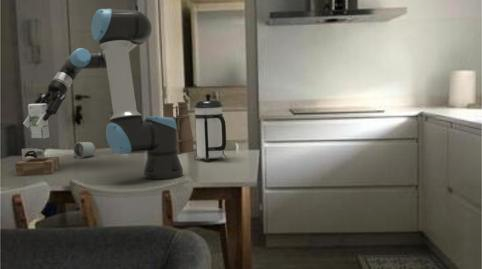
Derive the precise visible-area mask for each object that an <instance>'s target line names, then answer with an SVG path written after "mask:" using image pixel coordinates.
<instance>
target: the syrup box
mask: <svg viewBox="0 0 482 269" xmlns="http://www.w3.org/2000/svg"><path fill="white" fill-rule="evenodd" d="M47 107H48V105H47V104H46V103H41V104H33V103H29V104H28V105H27V110H28V111H27V112H28V115H29V123H30V126H29V132H30V133H29V134H30V139H31V140H33V139H35V140H36V139H37V140H39V139H41V140H42V139H47V138H50V130H49V129H50V128H49V119H48V120H47V121H46V122H45V123H44V125H43V126H42V128H39V127H38V126H37V125H36V123H37V122H38V120H39V119H40V117H41V116H42V114H43V113H44V112H46V111H45V110H47ZM46 113H47V112H46Z"/></svg>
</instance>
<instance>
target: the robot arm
mask: <svg viewBox="0 0 482 269" xmlns="http://www.w3.org/2000/svg"><path fill="white" fill-rule="evenodd" d="M90 27H91V28H90V31H91V32H90V33H91V36H92V38H93V39H92V40H94V41H96V42H98V45H99V48H100V49H101V50H102V51H89V50H87V49H86V48H84V47H79V48H77V49H75V50H74V51H73V52H72V53H71V54H70V55H69V56H68V57H67V59H66V60H65V62H64V63H63V65H61V68H60V69H59V70H58V71H57V73H56V75H55V76H53V78H52V80H51V82H50V83H49V84H48V86H47V91H46V92H45V94H43V93H42V92H41V93H39V95H38V97H37V99H36V100H35V101H34V102H33V103H32V104H41V103H46V104H47V110H45V111H46V112H47V113H46V112H44V113H43V114H42V116H41V117H40V119H39V120H38V122H37V123H36V125H37V126H38V127H39V128H42V126H43V125H44V123H45V122H46V121H47V120H48V121H49V118H50V117H52V115H56V114H57V113H58V110H59V108H60V107H61V105H62V103H63V101H65V99H66V93H67V91H68V90H69V88H70V87H71V85H72V84H73V82H74V81H75V79H76V78H78V75H79V74H80V73H81V72H82V71H83V70H94V69H95V70H96V69H97V70H98V69H99V70H100V69H101V70H103V69H105V70H106V71H107V78H108V79H107V80H108V83H109V84H108V85H109V91H110V99H111V108H112V112H113V114H112V116H111V117H110V119H109V120H110V121H109V123H108V124H107V125H106V128H105V130H106V131H105V137H106V141H107V144H108V146H109V147H110V149H111V150H112V152H114V153H115V154H117V155H128V154H133V153H141V152H146V154H147V156H146V161H145V165H144V168H143V178H146V179H147V180H167V179H168V180H169V179H174V178H179V177H182V176H183V175H184V171H183V166H182V164H181V160H180V158H179V154H177V127H176V121H175V119H173V118H167V117H164V116H150V115H149V116H147V115H146V116H145V117H144V120H143V117H142V114H141V113H140V112H138V110H137V109H138V108H137V104H136V103H137V102H136V97H135V90H134V89H135V87H134V82H133V81H134V80H133V74H132V69H131V68H132V67H131V62H130V54H129V52H131V51H132V50H134V49H135V48H136V47H137V46H140V45H143V44H144V43H145V42H146V41H148V40H149V38H150V37H151V35H152V31H153V30H152V29H153V28H152V23H151V20H150V19H149V17H148V16H147V15H146V14H145V13H143V12H142V11H140V10H135V9H119V8H116V9H115V8H111V7H110V8H109V7H108V8H99V9H97V10H96V12H95V13H94V15H93V18H92V21H91V26H90ZM22 124H23V125H24V126H25V127H26V128H30V123H29V114H28V115H27V117H26V119H25V120H24V121H23V123H22Z"/></svg>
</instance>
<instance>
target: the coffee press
mask: <svg viewBox="0 0 482 269" xmlns="http://www.w3.org/2000/svg"><path fill="white" fill-rule="evenodd" d="M223 106H224V105H223V104H222V102H221V101H220V100H219V99H213V98H211V94H210V93H206V94H205V99H200V100H197V101H195V104H194V106H193V107H194V109H195V110H194V112H195V114H194V118H195V119H194V121H195V122H194V124H195V126H194V127H195V151H196V153H195V154H196V155H195V156H194V158H193V159H194V160H195V161H197V160H198V159H204V160H205V163H210V159H218V158H221V159H222V160H223V161H225V160H227V156H226V154H225V149H226V147H227V130H226V129H227V127H226V121H225V118H224V115H223ZM223 156H224V157H223ZM196 157H197V159H196Z"/></svg>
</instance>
